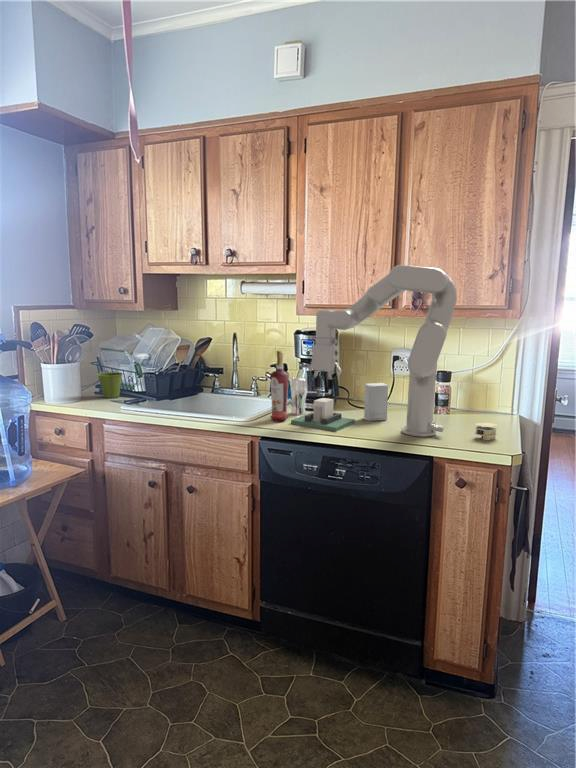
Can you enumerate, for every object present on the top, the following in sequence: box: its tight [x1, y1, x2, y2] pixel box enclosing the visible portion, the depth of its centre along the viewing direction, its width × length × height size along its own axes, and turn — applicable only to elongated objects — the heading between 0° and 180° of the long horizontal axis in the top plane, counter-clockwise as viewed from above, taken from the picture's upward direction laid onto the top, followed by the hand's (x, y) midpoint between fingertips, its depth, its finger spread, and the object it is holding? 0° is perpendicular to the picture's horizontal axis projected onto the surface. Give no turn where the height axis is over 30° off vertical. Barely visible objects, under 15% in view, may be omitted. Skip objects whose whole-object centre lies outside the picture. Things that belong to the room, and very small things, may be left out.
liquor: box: [270, 350, 290, 422], centre depth 210 cm, size 7×7×28 cm
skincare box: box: [363, 382, 389, 422], centre depth 215 cm, size 8×6×15 cm
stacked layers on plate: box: [474, 422, 498, 441], centre depth 190 cm, size 10×9×6 cm
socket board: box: [290, 412, 356, 432], centre depth 208 cm, size 20×16×4 cm
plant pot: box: [96, 371, 124, 399], centre depth 252 cm, size 12×12×11 cm
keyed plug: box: [313, 397, 335, 423], centre depth 207 cm, size 5×9×8 cm, turn 147°
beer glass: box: [290, 377, 308, 416], centre depth 223 cm, size 7×7×15 cm
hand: (324, 387), depth 206 cm, fingers open, 4 cm apart
